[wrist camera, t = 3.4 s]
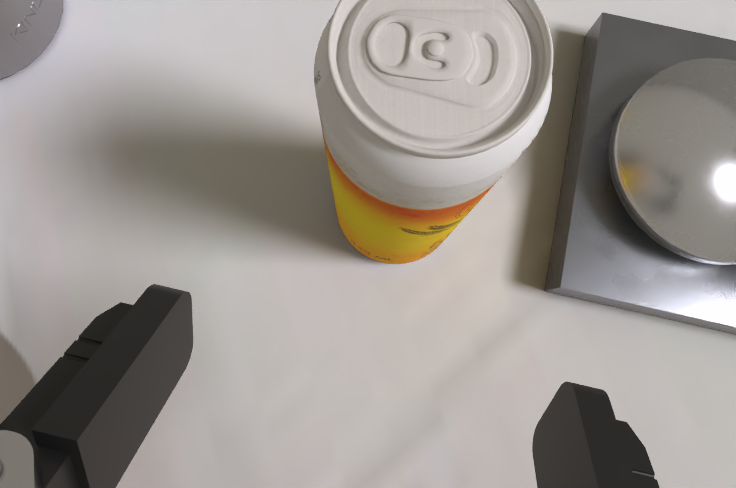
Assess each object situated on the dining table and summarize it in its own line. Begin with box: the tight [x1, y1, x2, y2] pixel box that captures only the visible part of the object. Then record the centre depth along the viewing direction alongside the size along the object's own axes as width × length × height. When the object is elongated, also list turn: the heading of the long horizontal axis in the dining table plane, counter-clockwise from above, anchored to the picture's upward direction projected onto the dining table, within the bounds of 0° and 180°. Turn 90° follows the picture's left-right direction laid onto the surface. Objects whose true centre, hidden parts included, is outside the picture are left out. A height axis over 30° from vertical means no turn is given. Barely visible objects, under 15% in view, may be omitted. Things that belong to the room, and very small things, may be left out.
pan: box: [609, 58, 736, 265], centre depth 24 cm, size 10×10×1 cm
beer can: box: [314, 0, 553, 264], centre depth 19 cm, size 6×6×15 cm
